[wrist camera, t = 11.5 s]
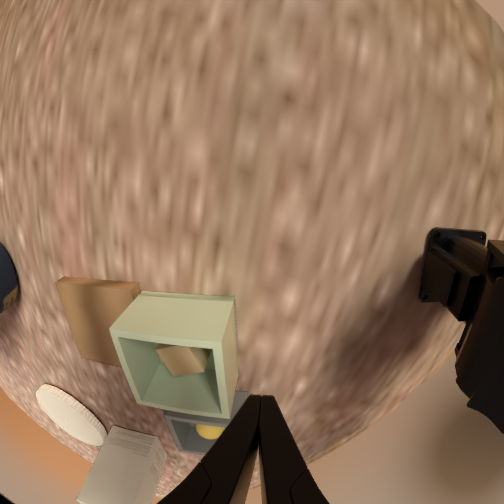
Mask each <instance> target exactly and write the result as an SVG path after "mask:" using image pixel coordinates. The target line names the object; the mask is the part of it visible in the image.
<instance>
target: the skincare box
mask: <svg viewBox="0 0 504 504" xmlns="http://www.w3.org/2000/svg"><path fill="white" fill-rule="evenodd" d="M167 456H168V455H167V453H166V451H165V449H164V447H163V445H162V443H161V441H160V439H159V437H157V436H152V435H148V434H144V433H140V432H136V431H132V430H128V429H124V428H121V427H117V426H114V425H113V426H112V428H111V430H110V432H109V433H108V435H107V437H106V439H105V441H104V443H103V445H102V447H101V449H100V451H99V453H98V455H97V457H96V459H95V461H94V463H93V466H92V467H91V469H90V471H89V473H88V476H87V478H86V480H85V482H84V484H83V486H82V488H81V490H80V492H79V494H78V496H77V497H76V500H77V501H78V502H80V503H81V504H152V502H153V499H154V496H155V493H156V490H157V487H158V484H159V481H160V478H161V474H162V471H163V468H164V465H165V462H166V459H167Z"/></svg>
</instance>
